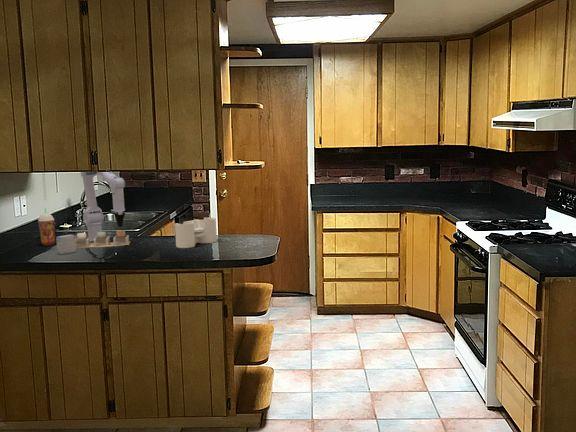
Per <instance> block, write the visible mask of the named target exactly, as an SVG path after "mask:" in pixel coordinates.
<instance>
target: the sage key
mask: <svg viewBox="0 0 576 432" xmlns="http://www.w3.org/2000/svg"><path fill="white" fill-rule="evenodd" d="M106 237H107V233H106V231H102V232H97V239H105V238H106Z"/></svg>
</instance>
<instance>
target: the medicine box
mask: <svg viewBox="0 0 576 432" xmlns="http://www.w3.org/2000/svg"><path fill="white" fill-rule="evenodd" d="M75 239H76V235H75V234H66V235H60V236H55V241H56V249H57V250H56V251H57V255H61V256H63V255H67V254H72V253H77V249H76V243H75Z"/></svg>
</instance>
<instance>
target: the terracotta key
mask: <svg viewBox="0 0 576 432" xmlns="http://www.w3.org/2000/svg"><path fill="white" fill-rule="evenodd" d="M115 232H116V236H117V238H121V237H125V235H126V230H116V231H115Z"/></svg>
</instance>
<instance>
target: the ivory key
mask: <svg viewBox="0 0 576 432" xmlns="http://www.w3.org/2000/svg"><path fill="white" fill-rule="evenodd" d="M76 237H77V239H78V240H86V238H87V233H86V232H77V233H76Z"/></svg>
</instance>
